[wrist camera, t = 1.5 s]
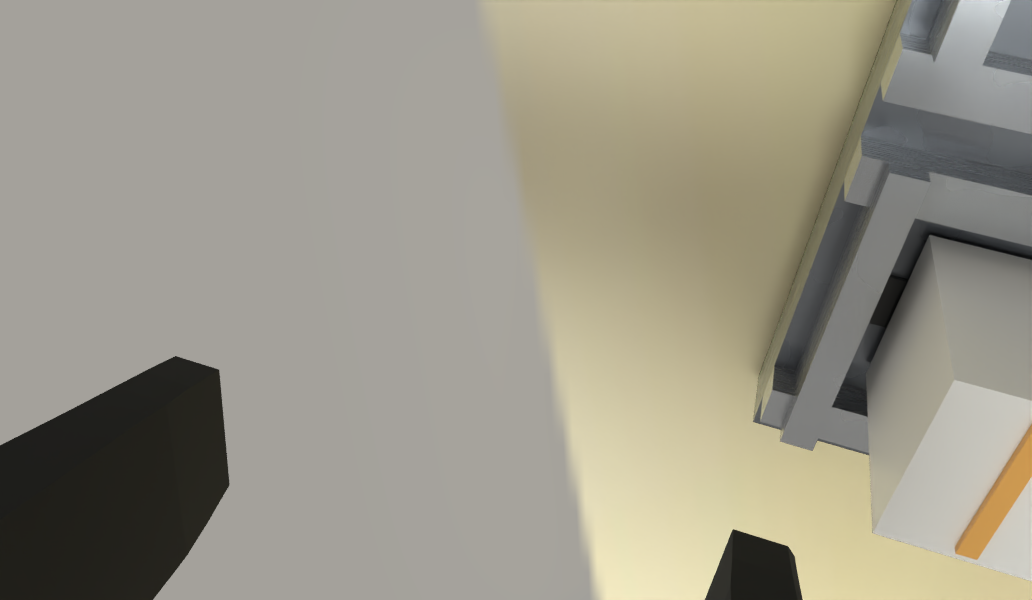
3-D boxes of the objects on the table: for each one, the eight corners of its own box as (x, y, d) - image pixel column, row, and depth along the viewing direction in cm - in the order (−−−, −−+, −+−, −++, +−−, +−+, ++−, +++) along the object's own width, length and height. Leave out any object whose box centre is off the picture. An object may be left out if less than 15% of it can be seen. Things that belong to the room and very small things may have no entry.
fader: (1089, 274, 14) (1164, 442, 11) (1007, 412, 16) (1050, 593, 13) (929, 234, 15) (955, 385, 11) (865, 373, 16) (872, 539, 13)
